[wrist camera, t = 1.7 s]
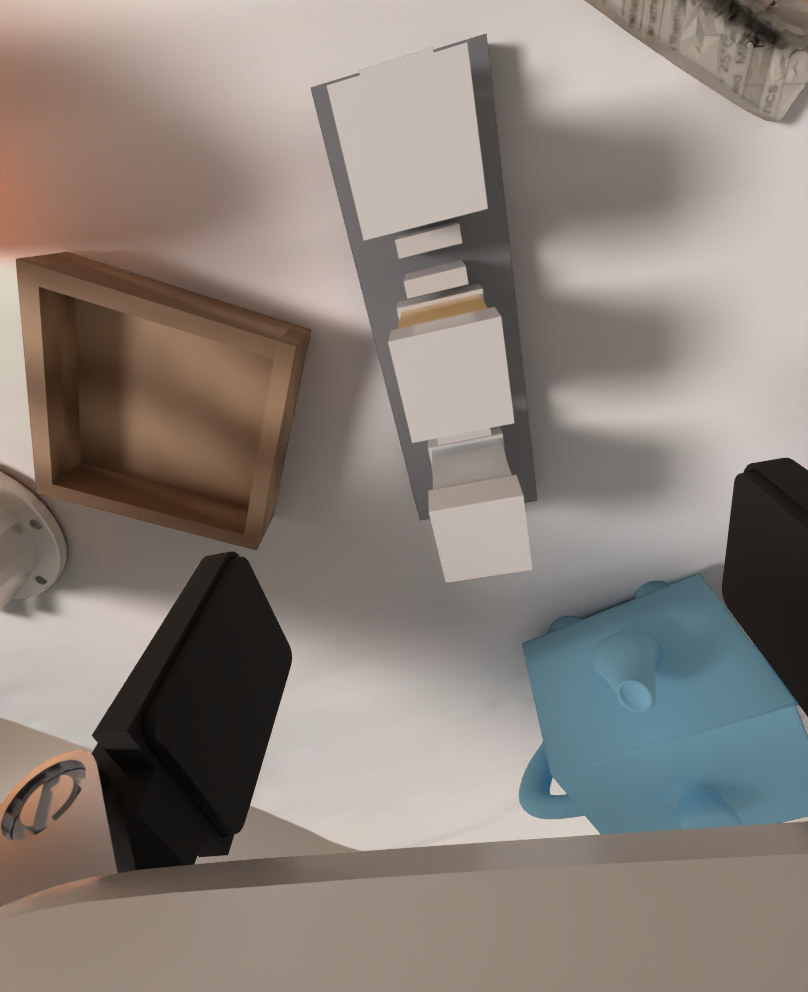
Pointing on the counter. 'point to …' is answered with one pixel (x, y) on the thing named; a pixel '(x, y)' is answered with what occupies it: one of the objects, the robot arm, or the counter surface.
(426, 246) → the fuse holder
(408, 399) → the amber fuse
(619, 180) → the counter surface
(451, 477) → the block
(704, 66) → the packaged product
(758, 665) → the teakettle
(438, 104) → the block
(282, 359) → the walnut tray
